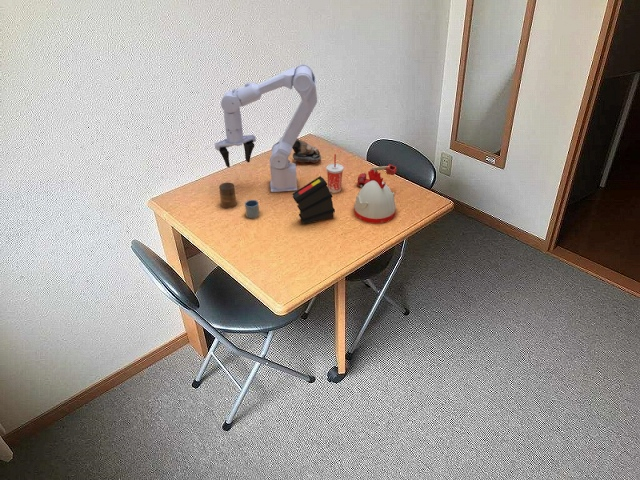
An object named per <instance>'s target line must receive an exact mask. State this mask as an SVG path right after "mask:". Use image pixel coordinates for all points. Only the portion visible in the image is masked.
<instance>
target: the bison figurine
mask: <svg viewBox="0 0 640 480" xmlns="http://www.w3.org/2000/svg"><path fill="white" fill-rule="evenodd" d="M292 150H293V153H292V159H293V161H294V162H296V163H297V162H298V163H299V162H300V163H313V164H316V163H318V162H319V161H320V160H321V159H322V155H321V152H320V150H319V149H318V148H317V147H316V146H312V145H310V144H309V143H308V142H306V141H305V140H303V139H299V138H297V139H296V141H295V143H294V145H293V147H292Z"/></svg>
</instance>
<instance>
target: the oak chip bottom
mask: <svg viewBox="0 0 640 480" xmlns="http://www.w3.org/2000/svg"><path fill="white" fill-rule="evenodd" d="M220 204H221V207H222V208H223V209H233V208H234V207H236V206H237V198H236V199H235V200H234V201H232V202H223V201H221V200H220Z"/></svg>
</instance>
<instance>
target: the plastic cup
mask: <svg viewBox="0 0 640 480" xmlns="http://www.w3.org/2000/svg"><path fill="white" fill-rule="evenodd" d="M259 207H260V206H259V201H257V199H256V200H255V199H250V200H247V201H245V202H244V208H245V216H246V217H247V218H248V219H256V218H258V217H259V216H260V208H259Z"/></svg>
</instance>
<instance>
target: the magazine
mask: <svg viewBox="0 0 640 480" xmlns="http://www.w3.org/2000/svg"><path fill="white" fill-rule="evenodd" d="M291 195H292V198H293V201H295V203H296V204H297V205H296V206H297V209H298V211H299V214H298V216H299V218H300V221H301V223H302V224H303V225H307V224H312V223H316V222H321V221H327V220H331V219H334V218H335V217H334V213H335V212H336V209H335V208H334V203H333V199H332V198H333V194H332V192H330V191H329V189H328V182H327V181H326V180H325V179H324V178H323V177H322V176H321V175H320V176H318V177H316V178H315V179H313V180H312V181H310V182H308V183H306V184H305V185H303V186H302V187H300V188H299V189H297V190H295V191H294V192H292V194H291Z"/></svg>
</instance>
